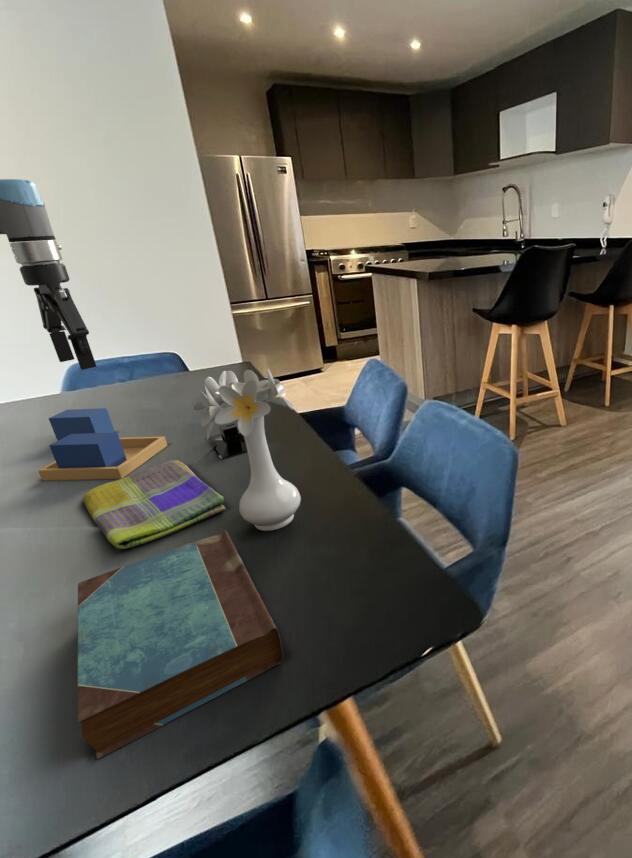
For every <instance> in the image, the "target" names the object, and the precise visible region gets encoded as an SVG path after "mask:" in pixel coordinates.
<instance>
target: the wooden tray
mask: <svg viewBox="0 0 632 858" xmlns="http://www.w3.org/2000/svg"><path fill="white" fill-rule="evenodd" d="M119 439H120V442H121V445H122V447H123V450H124V453H125V456H126V459H127V460H126V461H125V462H123V463H122V464H120V465H119V466H117V467H90V468H58V465H57V463H56V461H55V460H54V461H53V462H51V463H49V464H47V465H45V466H43V467H42V468H40V469H39V470H38V473H39V476H40V478H41V480H42V481H47V482H48V481H80V480H81V481H82V480H88V481H89V480H120V479H123V478H126V477H127V476H128V475H129V474H130V473H132V472H133V471H134V470H136V469H137V468H139V467H140V466H141V465H143V464H144V463H146V462H147V461H148V460H150V459H151V458H153V457H154V456H155V455H156V454H158V453H160V452H161V451H162V450H163V449H165V448H166V447H168V443H167V440H166V436H136V437H135V436H133V437H119Z"/></svg>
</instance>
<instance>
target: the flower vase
mask: <svg viewBox="0 0 632 858" xmlns="http://www.w3.org/2000/svg"><path fill="white" fill-rule="evenodd" d="M266 370H267V379H263V380H259V377H258V375H257V374H256V373H255V372H254V371H253V370H251V369H246V370H244V372H243V380H244V382H240V381H239V379H238V377H237V376H236V374H235V372H234V371H232V370H223V371H222V372H221V374H220V376H219V379H218V383H217V381H216V379H214V377H211V376H207V377H206V378H205V380H204V385H203V390H204V392H203V391H202V390H199V392H198V395H199V398H200V399H199V400H198V401H197V402H196V403H195V404H194V406H193V410H194V411H200V410H203V409H205V411H204V412H203V413H202V415H201V417H200V424H201V427H202V428H205V427H206V426H207V425H208V426H207V428H206V441H208V440H209V439H210V436H211V434H212V432H213V430H214V428H215V426H216V425H218V426H219V425H223V424H228V423H231V422H233V423H234V422H235V421H236V422H237V430H238V432H240V433H241V434H242V435H243V436H244V439H245V443H246V447H247V452H246V453H247V457H248V463H249V467H250V478H249V482H248V486H247V488H246V489H245V491H244V492H243V493H242V495H241V498H240V500H239V503H238V510H239V511H238V512H239V515H240V516H241V517H242V519H243V520H244V521H245V522H247V523H250V524H251V525H253V526H254V527H255V528H256V529H257V530H258V531H262V532H271V531H272V532H273V531H277V530H280V529H282V528H285V527H286V526H288V525H289V524H290V523H292V521H293V520H294V517H295V513H296V512H297V510H298V509H299V508H300V505H301V501H302V497H301V494H300V491H299V489H298V488H297V487H296V486H295V485H294V484H293V483H292V482H290V481H289V480H286V478H285V479H284V478H283V477H282V476H281V475H280V474H279V472H278V470H277V469H276V467H275V465H274V463H273V460H272V456H271V452H270V449H269V445H268V441H267V437H266V430H265V416H267V415H268V414H270V412H271V409H272V408H271V406H270V405H269V404H268V403H269V402H271V403H273V404H275V405H279V406H283V407H285V408H287V409H289V410H292V411H294V412H298V409H297V408H296V407H295V406H294V405H293V403H292V402H290V401H289V400H288V399H286V398H284V397H286V395H287V392H286V389H285V387H284V386H283V384H281V381H280V380H279V379H278V378H274V377H273V374H272V372H271V371H270V369H269V368H267V369H266Z"/></svg>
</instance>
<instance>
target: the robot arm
mask: <svg viewBox="0 0 632 858" xmlns="http://www.w3.org/2000/svg"><path fill="white" fill-rule="evenodd" d="M0 235H6V237H7V240H8V242H9V247H10V249H11V252H12V254H13V257H14V259H15V262H16V263H17V264H19V265H20V266H19V271H20V274H21V277H22V279H23V282H24V284H25V285H26V286H33V287H34V286H38V287H34V288H33V293H34V294H35V297H36V300H37V304H38V309H39V314H40V317H41V323H42V327H43V329H44V330H46V331H47V332H48V333H49V337H50V340H51V342H52V345H53V347H54V350H55V353H56V355H57V359H58V362H59V363H64V362H69V361H74V360H75V357H76V359H77V363H78V365H79V368H80V370H82V371H84V370H87V369H93V368H97V363H96V361H95V358H94V354H93V352H92V350H91V349H92V348H91V346H90V343H89V341H88V337H87V336H88V335H89V334H90V331H89V329H88V327H87V326H86V324H85V323H86V322H85V321H84V320H83V317H82V315H81V314H80V311H79V310H78V307H77V306H76V304H75V302H74V300H73V297H72V295H71V291H70V289H69V288H68V287H63V288H62V286H61V284H62V283H68V282H69V281H70V276H69V273H68V271H67V268H66V267H67V266H66V264H64V263H62V262H61V261H62V260H63V257H62V254H61V250H62V249H63V248H62V246H61V245H60V244H58V242H57V240H56V237H55V234H54V231H53V228H52V225H51V222H50V218H49V215H48V211H47V208H46V204H45V202H44V200H43V197H42V195H41V192H40V190H39V188H38V187H37V185H36V183H35V182H33V181H31V180H27V179H18V178H17V179H16V178H2V179H0ZM62 324H63V325H62ZM66 331H67V333H68V335H67V333H66ZM69 341H70V342H69ZM70 343H71V345H70ZM71 346H72V348H71ZM72 349H73V350H72ZM73 351H74V354H75V357H74V354H73Z"/></svg>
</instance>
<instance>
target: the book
mask: <svg viewBox="0 0 632 858" xmlns="http://www.w3.org/2000/svg"><path fill="white" fill-rule="evenodd" d="M283 662H284V650H283V644H282V641H281V636H280V633H279V630H278V628H277V626H276V624H275V622H274V620H273V618H272V616H271V614H270V613H269V610H268V609H267V606H266V604H265V603H264V600H263V599H262V597H261V594H260V593H259V591H258V589H257V587H256V585H255V583H254V581H253V579H252V577H251V575H250V574H249V571H248V570H247V568H246V566H245V564H244V561H243V559H242V558H241V556H240V554H239V552H238V550H237V549H236V546H235V544H234V542H233V540H232V538H231V537H230V534H229V532H228V531H227V530H222V531H221V532H220V533H218V534H217V535H212V536H208V537H204V538H202V539H199V540H195V541H192V542H189V543H185V544H183V545H181V546H178V547H174V548H172V549H169V550H166V551H163V552H160V553H158V554H155V555H152V556H149V557H147V558H144V559H141V560H138V561H136V562H133V563H129V564H126V565H124V566H120V567H119V568H116V569H113V570H110V571H108V572H105V573H102V574H99V575H96V576H94V577H93V576H92V577H91V578H87V579H85V580H82V581H79V582H78V583H77V666H76V667H77V672H76V673H77V680H76V681H77V685H76V686H77V689H76V690H77V693H76V695H77V696H76V697H77V699H76V700H77V701H76V706H77V707H76V708H77V709H76V712H77V713H76V714H77V715H76V716H77V720H76V721H77V723H81V734H82V738H83V740H84V741H85V742H86V743H87V744H88V745H89V746H91V747H92V748H93V749H94V750H95V758H96V760H99V759H102V758H103V757H106V756H107V755H109V754H111V753H113V752H116V751H117V750H119V749H120V748H123V747H124V746H127V745H128V744H130V743H132V742H134V741H136V740H138V739H140V738H142V737H144V736H145V735H147V734H150V733H151V732H153V731H155V730H157V729H159V728H161V727H163V726H164V725H166V724H168V723H171V722H172V721H174V720H176V719H178V718H181V717H182V716H184V715H186V714H188V713H190V712H192V711H193V710H195V709H197V708H198V707H199V708H200V707H201V706H203V705H204V704H206V703H208V702H210V701H212V700H214V699H216V698H218V697H220V696H222V695H224V694H226V693H227V692H230V691H232V690H233V689H236V688H237V687H239V686H240V685H243V684H244V683H246V682H248V681H250V680H252V679H254V678H256V677H258V676H259V675H261V674H263V673H264V672H266V671H268V670H270V669H272V668H274V667H276V666H279V665H281V664H282V663H283Z"/></svg>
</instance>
